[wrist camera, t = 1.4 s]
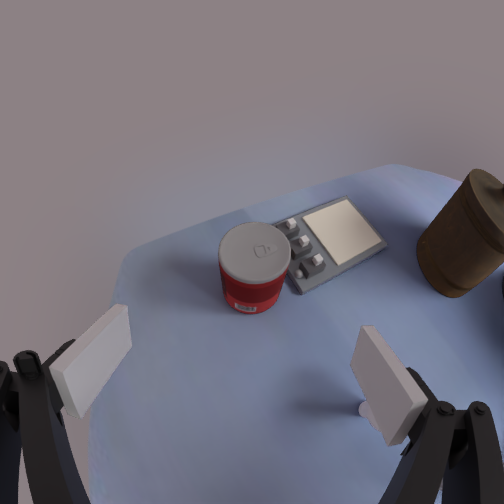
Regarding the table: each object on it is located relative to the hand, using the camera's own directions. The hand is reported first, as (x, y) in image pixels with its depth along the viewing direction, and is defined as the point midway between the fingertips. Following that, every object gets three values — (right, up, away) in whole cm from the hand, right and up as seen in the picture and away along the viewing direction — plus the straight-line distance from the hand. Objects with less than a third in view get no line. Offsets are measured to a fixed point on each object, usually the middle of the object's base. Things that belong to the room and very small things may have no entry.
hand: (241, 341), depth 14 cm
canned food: (0, -1, +25) cm, 25 cm away
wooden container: (+37, +3, +29) cm, 47 cm away
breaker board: (+13, +7, +30) cm, 33 cm away
